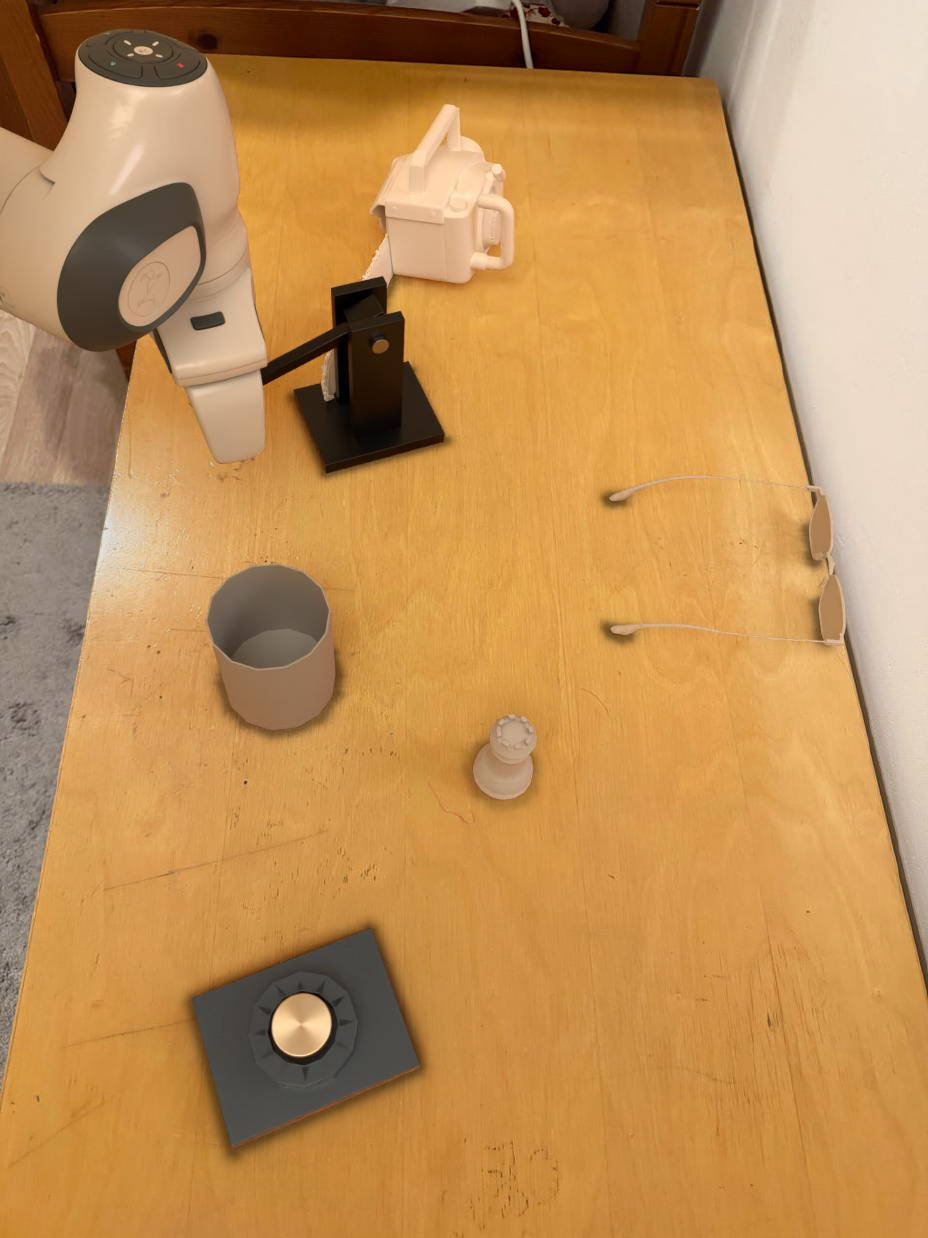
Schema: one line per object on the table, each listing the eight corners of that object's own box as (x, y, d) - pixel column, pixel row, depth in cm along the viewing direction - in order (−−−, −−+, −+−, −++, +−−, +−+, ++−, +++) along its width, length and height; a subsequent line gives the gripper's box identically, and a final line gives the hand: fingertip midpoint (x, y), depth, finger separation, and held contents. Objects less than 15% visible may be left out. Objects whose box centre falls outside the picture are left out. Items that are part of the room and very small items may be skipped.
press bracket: (326, 474, 87) (318, 360, 75) (294, 398, 91) (281, 278, 79) (444, 441, 90) (454, 327, 78) (408, 369, 94) (413, 249, 82)
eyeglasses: (830, 664, 82) (850, 641, 78) (609, 644, 81) (620, 619, 78) (810, 509, 89) (827, 482, 86) (608, 489, 89) (617, 461, 85)
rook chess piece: (471, 800, 74) (481, 760, 67) (473, 743, 76) (482, 698, 69) (531, 803, 74) (548, 764, 67) (532, 747, 76) (547, 703, 69)
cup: (206, 709, 76) (184, 647, 67) (250, 619, 80) (235, 549, 71) (312, 743, 75) (304, 685, 66) (351, 651, 79) (348, 584, 70)
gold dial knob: (283, 1070, 61) (281, 1067, 59) (266, 1011, 62) (263, 1006, 61) (340, 1046, 62) (339, 1042, 60) (322, 988, 63) (320, 983, 62)
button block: (235, 1148, 62) (227, 1146, 58) (196, 1003, 66) (186, 993, 62) (418, 1068, 65) (420, 1062, 61) (370, 934, 69) (370, 921, 65)
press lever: (220, 439, 81) (206, 423, 79) (202, 390, 83) (188, 373, 81) (400, 345, 80) (390, 326, 78) (376, 297, 82) (366, 278, 80)
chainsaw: (296, 409, 91) (269, 297, 80) (409, 179, 109) (399, 62, 98) (459, 438, 88) (452, 326, 78) (547, 197, 106) (551, 79, 96)
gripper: (107, 187, 73) (144, 328, 85) (179, 390, 65) (209, 515, 77) (193, 171, 75) (217, 312, 87) (275, 367, 66) (289, 494, 78)
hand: (214, 409), depth 82 cm, fingers closed on press lever, 5 cm apart
